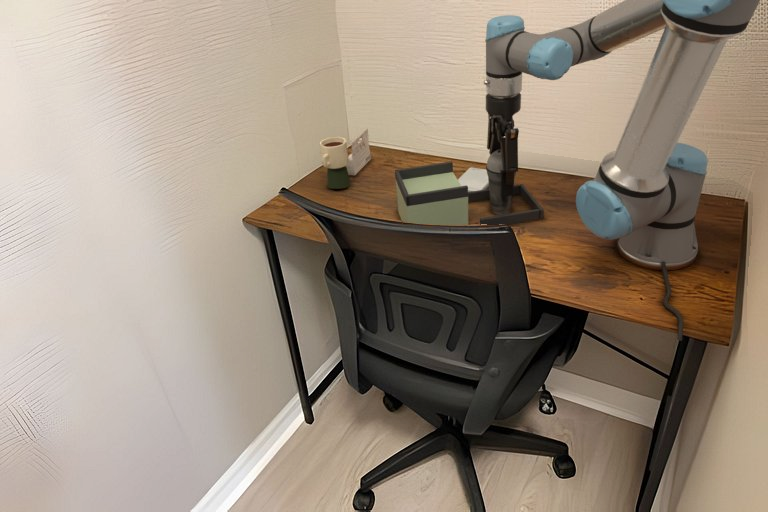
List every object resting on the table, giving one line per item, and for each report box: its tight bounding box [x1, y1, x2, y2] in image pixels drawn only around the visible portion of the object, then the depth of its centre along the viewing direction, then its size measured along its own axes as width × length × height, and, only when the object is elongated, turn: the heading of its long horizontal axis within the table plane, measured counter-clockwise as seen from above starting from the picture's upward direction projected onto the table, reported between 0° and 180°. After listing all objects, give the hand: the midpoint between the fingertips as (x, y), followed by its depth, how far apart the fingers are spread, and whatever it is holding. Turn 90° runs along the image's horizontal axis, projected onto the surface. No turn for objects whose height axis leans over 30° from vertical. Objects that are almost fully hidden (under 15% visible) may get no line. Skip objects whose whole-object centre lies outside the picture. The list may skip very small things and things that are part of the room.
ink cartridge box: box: [346, 128, 372, 177], centre depth 168 cm, size 2×11×10 cm, turn 157°
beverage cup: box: [485, 137, 517, 216], centre depth 138 cm, size 7×7×20 cm
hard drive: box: [457, 166, 489, 192], centre depth 155 cm, size 2×8×12 cm
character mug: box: [319, 136, 351, 190], centre depth 158 cm, size 11×7×13 cm, turn 152°
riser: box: [394, 161, 545, 226], centre depth 140 cm, size 14×32×12 cm, turn 99°
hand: (501, 187), depth 140 cm, fingers closed on beverage cup, 7 cm apart
